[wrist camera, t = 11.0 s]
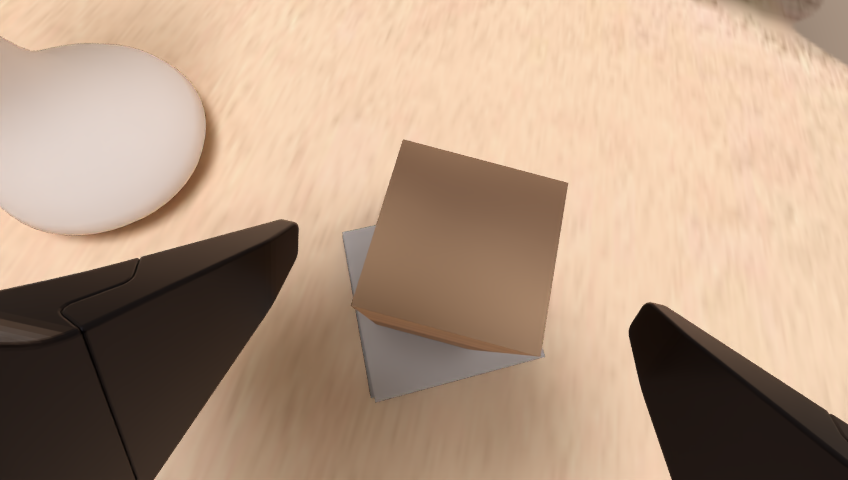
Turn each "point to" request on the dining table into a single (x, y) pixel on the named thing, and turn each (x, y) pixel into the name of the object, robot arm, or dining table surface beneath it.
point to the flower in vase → (93, 135)
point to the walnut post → (463, 252)
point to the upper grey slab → (413, 345)
